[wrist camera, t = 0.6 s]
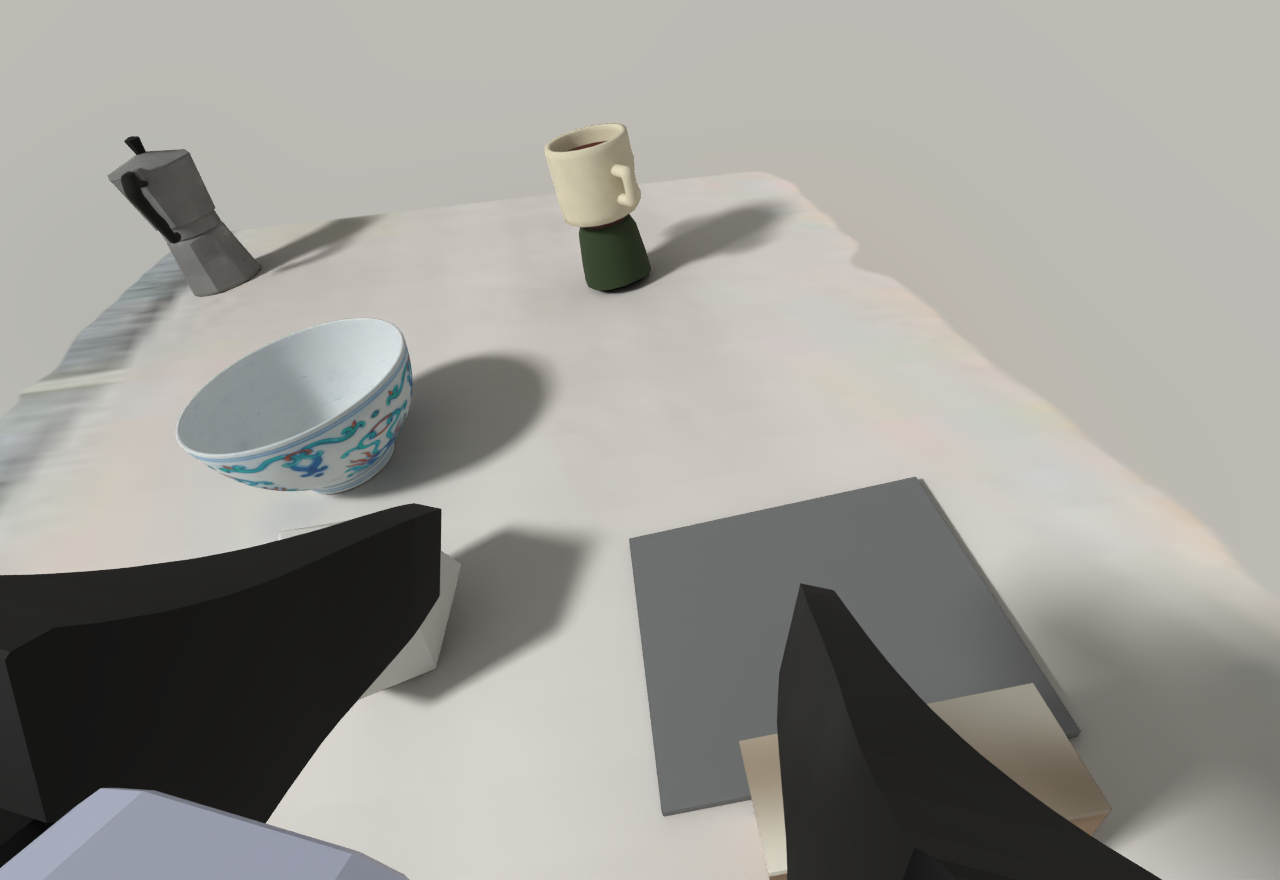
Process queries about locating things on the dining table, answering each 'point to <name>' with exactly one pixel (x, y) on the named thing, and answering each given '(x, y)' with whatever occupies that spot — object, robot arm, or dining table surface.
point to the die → (429, 636)
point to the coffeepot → (184, 218)
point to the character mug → (600, 202)
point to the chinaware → (305, 409)
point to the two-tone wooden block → (995, 727)
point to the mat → (762, 613)
